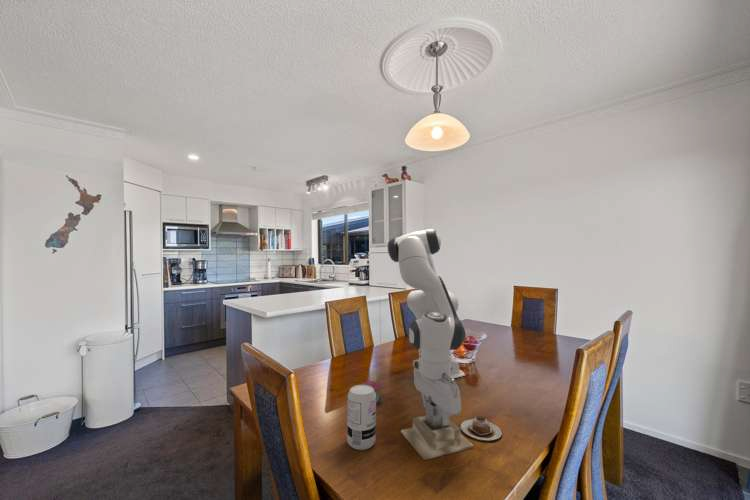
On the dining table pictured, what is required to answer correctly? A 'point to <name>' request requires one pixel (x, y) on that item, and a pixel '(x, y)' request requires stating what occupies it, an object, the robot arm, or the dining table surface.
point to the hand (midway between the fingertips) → (435, 416)
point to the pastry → (481, 428)
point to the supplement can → (361, 417)
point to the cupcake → (375, 386)
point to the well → (435, 439)
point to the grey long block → (433, 415)
